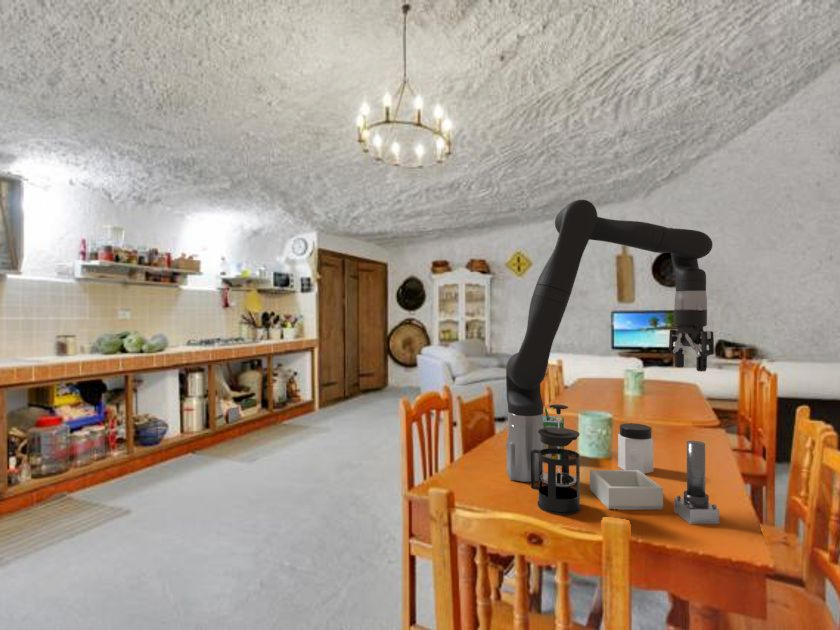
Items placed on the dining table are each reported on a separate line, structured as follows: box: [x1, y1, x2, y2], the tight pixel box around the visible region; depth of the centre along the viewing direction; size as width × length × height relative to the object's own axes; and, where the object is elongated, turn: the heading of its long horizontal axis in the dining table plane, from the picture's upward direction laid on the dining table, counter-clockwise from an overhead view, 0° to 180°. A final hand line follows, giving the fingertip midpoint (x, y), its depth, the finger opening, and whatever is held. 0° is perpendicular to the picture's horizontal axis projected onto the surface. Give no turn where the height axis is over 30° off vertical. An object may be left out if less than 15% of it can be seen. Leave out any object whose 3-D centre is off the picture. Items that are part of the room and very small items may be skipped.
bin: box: [589, 469, 664, 511], centre depth 109 cm, size 12×12×5 cm
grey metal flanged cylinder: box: [683, 440, 710, 508], centre depth 99 cm, size 5×5×13 cm
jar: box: [617, 422, 654, 475], centre depth 130 cm, size 9×8×12 cm
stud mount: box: [673, 494, 720, 525], centre depth 99 cm, size 6×6×4 cm
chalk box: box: [543, 406, 565, 460], centre depth 142 cm, size 9×9×15 cm
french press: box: [530, 403, 582, 516], centre depth 106 cm, size 12×9×23 cm
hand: (690, 369), depth 124 cm, fingers open, 8 cm apart
